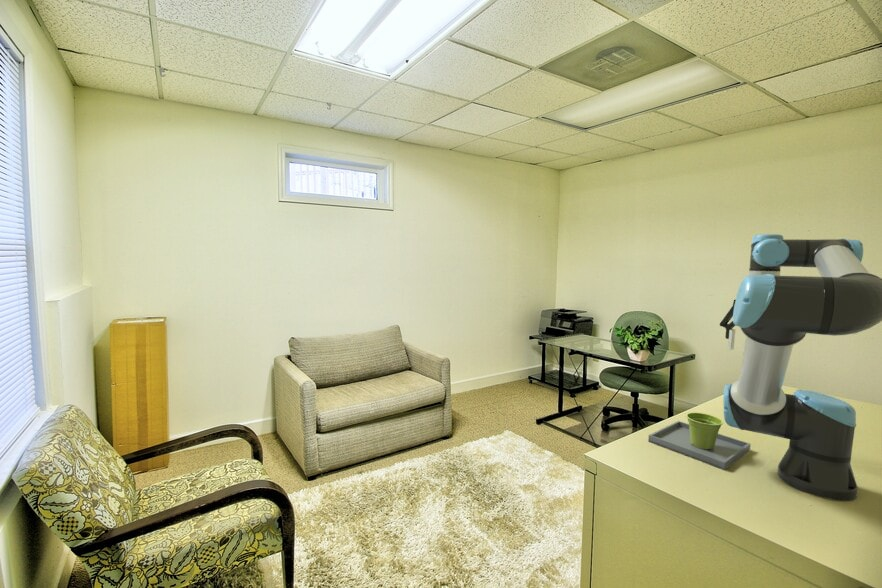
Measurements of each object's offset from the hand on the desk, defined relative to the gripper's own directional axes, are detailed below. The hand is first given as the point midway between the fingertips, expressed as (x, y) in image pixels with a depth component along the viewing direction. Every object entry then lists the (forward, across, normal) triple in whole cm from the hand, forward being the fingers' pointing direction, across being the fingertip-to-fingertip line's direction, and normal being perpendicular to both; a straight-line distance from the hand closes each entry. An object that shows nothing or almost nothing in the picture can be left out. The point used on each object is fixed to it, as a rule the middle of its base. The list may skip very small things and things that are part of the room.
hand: (756, 353), depth 126 cm
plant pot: (+28, +7, +16) cm, 33 cm away
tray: (+29, +8, +16) cm, 34 cm away
